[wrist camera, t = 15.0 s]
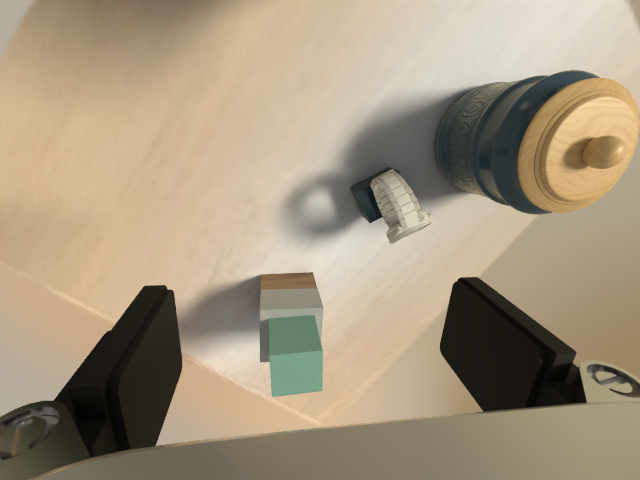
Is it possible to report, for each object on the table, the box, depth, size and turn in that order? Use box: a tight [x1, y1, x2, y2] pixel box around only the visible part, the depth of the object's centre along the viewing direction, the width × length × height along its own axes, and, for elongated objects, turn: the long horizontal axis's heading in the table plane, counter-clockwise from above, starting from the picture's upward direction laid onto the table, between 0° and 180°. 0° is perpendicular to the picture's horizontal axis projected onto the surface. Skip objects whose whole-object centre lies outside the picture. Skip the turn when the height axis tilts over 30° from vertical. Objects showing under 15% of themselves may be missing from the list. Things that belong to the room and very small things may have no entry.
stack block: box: [269, 315, 323, 397], centre depth 34 cm, size 5×5×6 cm
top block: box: [260, 288, 323, 362], centre depth 39 cm, size 7×7×4 cm
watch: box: [350, 167, 434, 244], centre depth 36 cm, size 6×8×11 cm
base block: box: [260, 272, 317, 292], centre depth 43 cm, size 7×7×4 cm
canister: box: [435, 70, 639, 214], centre depth 33 cm, size 13×13×18 cm
